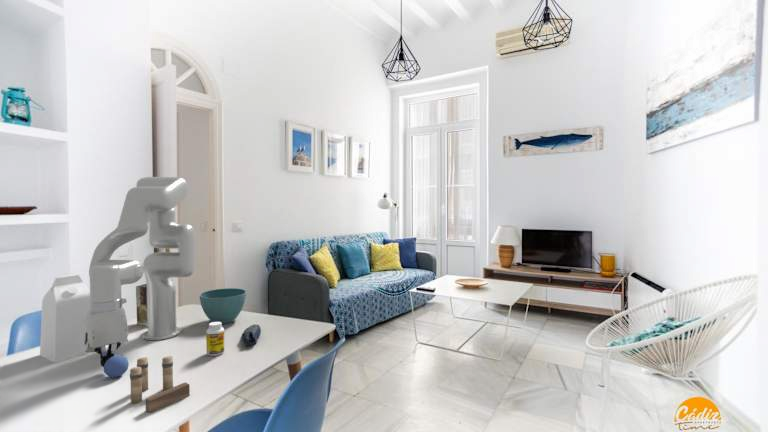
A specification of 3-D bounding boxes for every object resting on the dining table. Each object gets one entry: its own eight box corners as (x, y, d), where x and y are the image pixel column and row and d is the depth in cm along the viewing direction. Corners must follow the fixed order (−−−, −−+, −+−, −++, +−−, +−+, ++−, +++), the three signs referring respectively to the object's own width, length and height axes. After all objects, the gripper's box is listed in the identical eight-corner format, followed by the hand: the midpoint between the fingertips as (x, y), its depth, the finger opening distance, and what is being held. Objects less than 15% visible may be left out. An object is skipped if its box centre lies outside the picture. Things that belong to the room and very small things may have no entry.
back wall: (145, 410, 94) (145, 398, 94) (185, 393, 103) (185, 382, 103) (150, 413, 93) (149, 400, 93) (189, 395, 102) (189, 384, 102)
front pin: (135, 390, 104) (134, 359, 104) (145, 386, 106) (144, 356, 106) (140, 393, 103) (139, 361, 103) (150, 389, 105) (149, 358, 105)
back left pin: (160, 389, 105) (159, 358, 105) (170, 385, 107) (169, 355, 107) (165, 391, 104) (165, 360, 103) (175, 387, 106) (174, 357, 105)
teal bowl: (212, 314, 174) (212, 287, 173) (252, 315, 173) (252, 288, 172) (191, 328, 155) (190, 297, 155) (236, 328, 155) (235, 298, 154)
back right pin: (128, 402, 98) (127, 369, 98) (139, 397, 100) (138, 365, 100) (133, 405, 97) (132, 371, 96) (144, 400, 99) (143, 368, 99)
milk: (82, 343, 138) (80, 271, 137) (98, 349, 132) (96, 274, 131) (39, 355, 128) (37, 277, 127) (55, 362, 122) (52, 281, 121)
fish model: (238, 349, 134) (238, 335, 134) (244, 330, 154) (244, 317, 154) (258, 348, 135) (258, 333, 135) (262, 329, 156) (262, 316, 156)
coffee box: (166, 322, 163) (165, 284, 162) (152, 326, 157) (151, 287, 156) (150, 319, 166) (149, 282, 165) (136, 324, 160) (135, 285, 159)
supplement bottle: (208, 357, 126) (207, 327, 126) (205, 352, 131) (204, 322, 130) (226, 354, 129) (225, 324, 129) (222, 348, 134) (222, 319, 133)
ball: (100, 377, 112) (99, 357, 111) (122, 370, 117) (122, 350, 116) (109, 383, 108) (109, 362, 108) (132, 374, 114) (132, 354, 113)
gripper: (128, 299, 123) (129, 356, 123) (70, 309, 110) (71, 373, 111) (139, 302, 118) (140, 361, 119) (80, 314, 106) (82, 379, 107)
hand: (107, 366), depth 115 cm, fingers closed
